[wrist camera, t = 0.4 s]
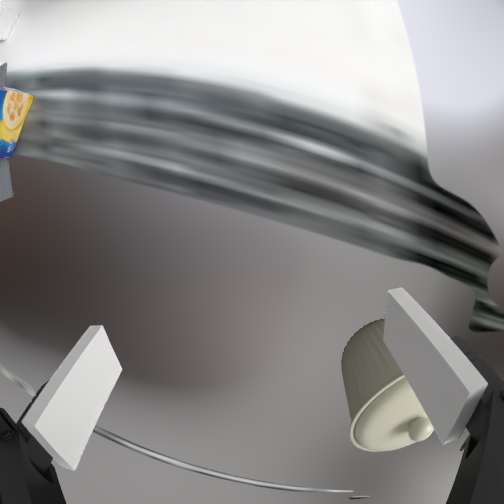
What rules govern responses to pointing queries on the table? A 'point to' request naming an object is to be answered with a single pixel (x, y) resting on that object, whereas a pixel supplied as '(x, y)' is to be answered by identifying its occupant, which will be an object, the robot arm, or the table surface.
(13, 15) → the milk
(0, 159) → the mat
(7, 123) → the beverage box
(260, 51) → the table surface
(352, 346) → the canister
